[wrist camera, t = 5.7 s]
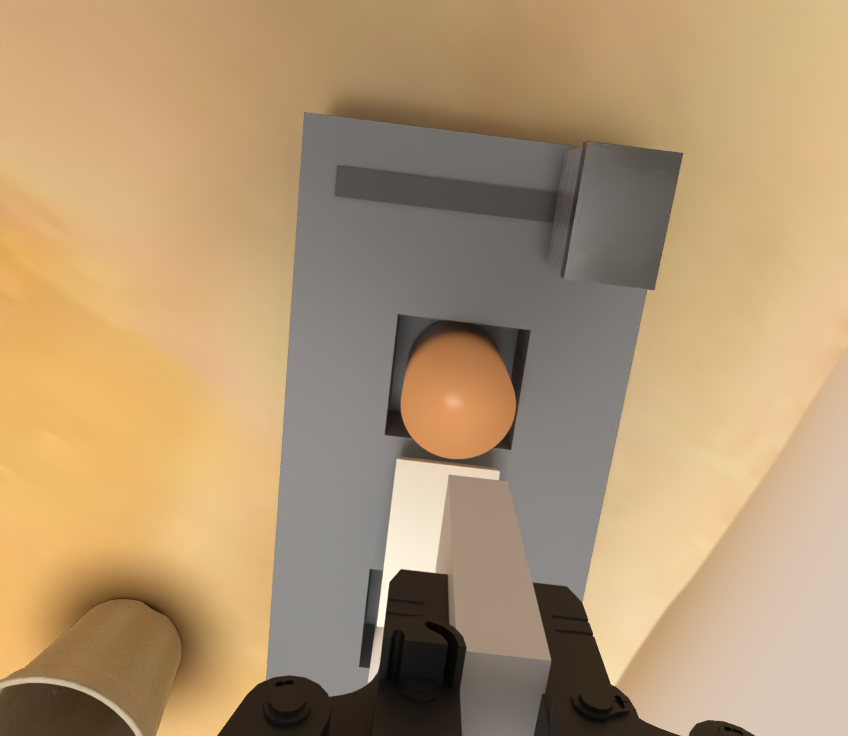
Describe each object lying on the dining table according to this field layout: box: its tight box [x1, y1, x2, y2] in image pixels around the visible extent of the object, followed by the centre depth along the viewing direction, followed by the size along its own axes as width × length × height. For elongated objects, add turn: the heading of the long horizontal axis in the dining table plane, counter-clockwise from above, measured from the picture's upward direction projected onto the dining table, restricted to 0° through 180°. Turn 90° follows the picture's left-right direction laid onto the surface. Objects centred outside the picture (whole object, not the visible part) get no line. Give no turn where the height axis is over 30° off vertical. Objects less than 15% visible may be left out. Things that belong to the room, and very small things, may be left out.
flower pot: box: [0, 599, 182, 736], centre depth 35 cm, size 9×9×9 cm
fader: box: [547, 141, 683, 290], centre depth 25 cm, size 3×5×4 cm
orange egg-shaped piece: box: [401, 320, 516, 459], centre depth 30 cm, size 5×5×6 cm
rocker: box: [377, 456, 500, 627], centre depth 29 cm, size 4×7×1 cm, turn 173°
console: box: [266, 112, 647, 697], centre depth 32 cm, size 15×28×6 cm, turn 173°
